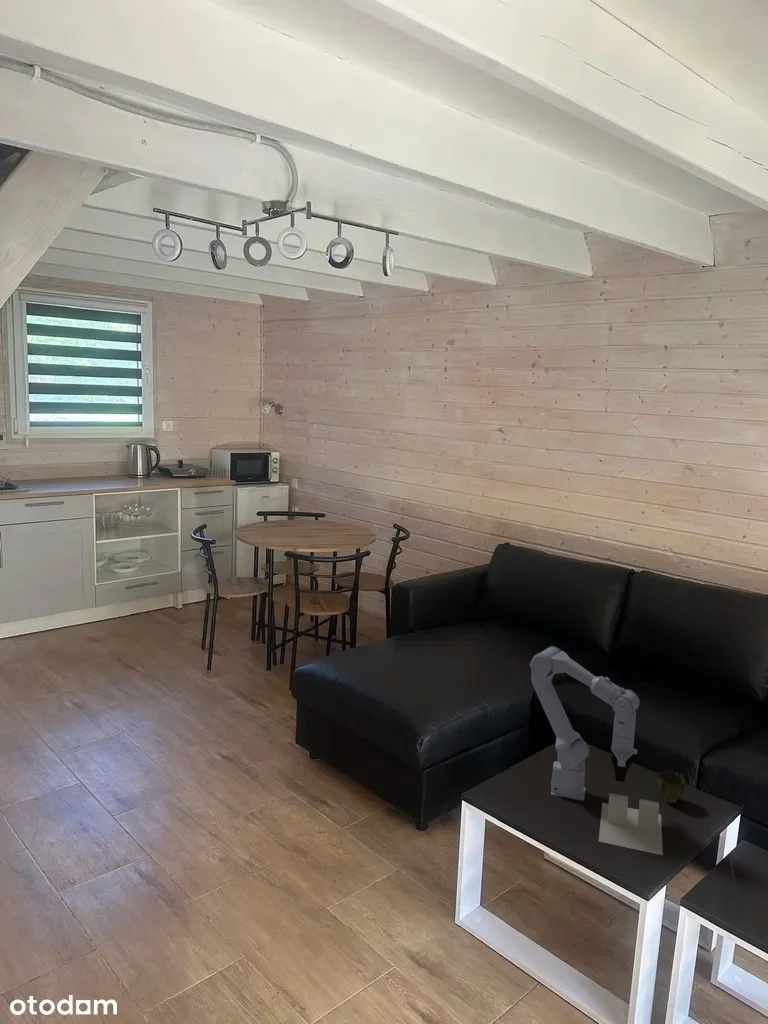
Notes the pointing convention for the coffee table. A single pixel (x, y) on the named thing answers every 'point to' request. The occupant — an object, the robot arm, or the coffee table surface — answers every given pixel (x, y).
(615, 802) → the slab
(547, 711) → the robot arm
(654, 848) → the mat
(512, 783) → the coffee table surface
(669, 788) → the cup
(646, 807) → the slab
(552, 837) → the coffee table surface
